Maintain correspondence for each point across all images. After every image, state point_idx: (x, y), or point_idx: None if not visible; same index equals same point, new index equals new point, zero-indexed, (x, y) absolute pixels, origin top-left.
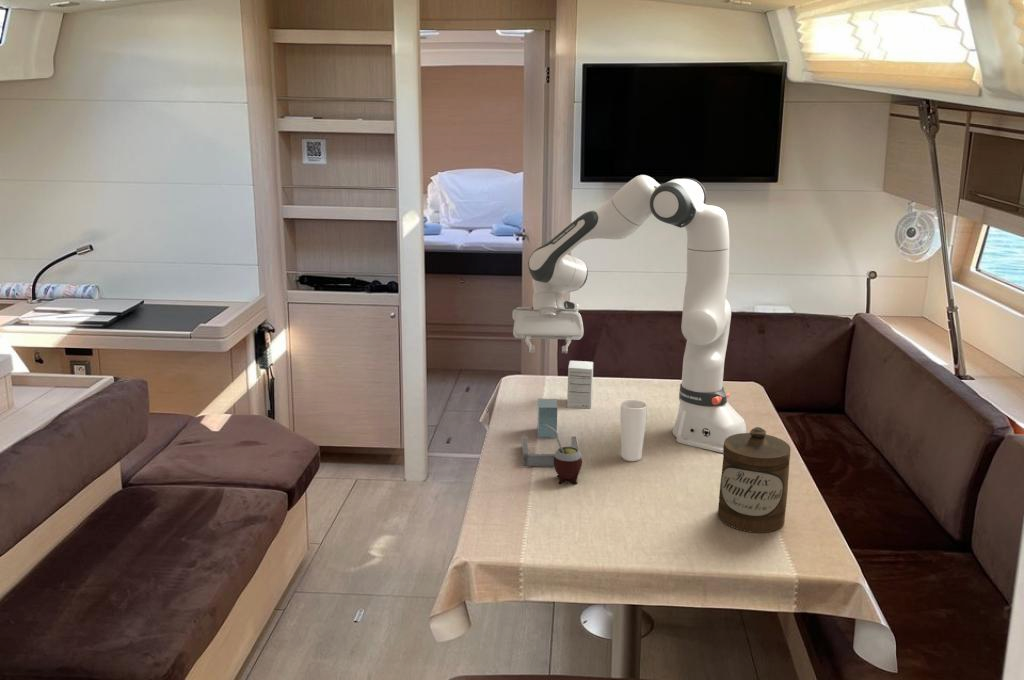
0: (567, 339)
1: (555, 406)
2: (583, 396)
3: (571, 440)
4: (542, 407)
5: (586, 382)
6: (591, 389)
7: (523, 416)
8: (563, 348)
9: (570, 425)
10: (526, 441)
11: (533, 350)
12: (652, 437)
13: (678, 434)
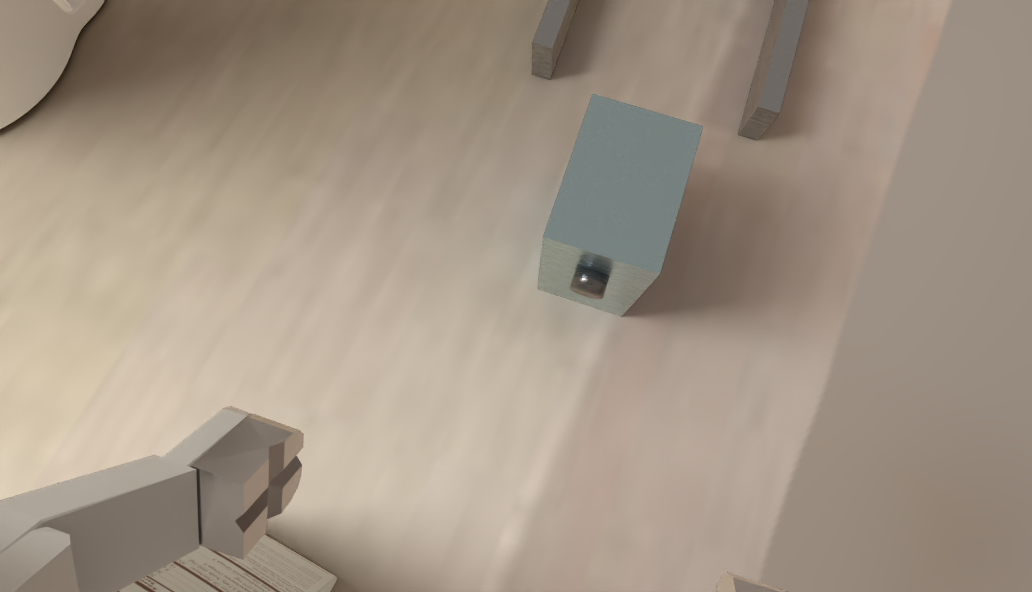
0: (48, 542)
1: (596, 116)
2: None
3: (554, 49)
4: (682, 120)
5: None
6: None
7: (634, 510)
8: (262, 448)
9: (445, 308)
10: (777, 51)
11: (750, 579)
12: (168, 72)
13: (67, 2)
